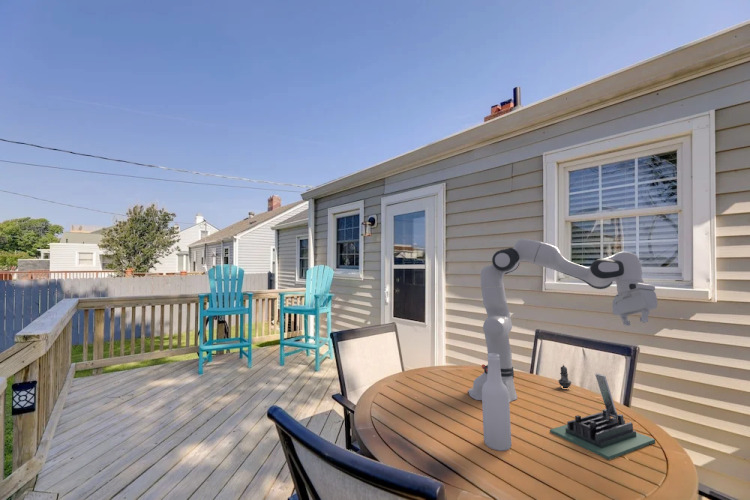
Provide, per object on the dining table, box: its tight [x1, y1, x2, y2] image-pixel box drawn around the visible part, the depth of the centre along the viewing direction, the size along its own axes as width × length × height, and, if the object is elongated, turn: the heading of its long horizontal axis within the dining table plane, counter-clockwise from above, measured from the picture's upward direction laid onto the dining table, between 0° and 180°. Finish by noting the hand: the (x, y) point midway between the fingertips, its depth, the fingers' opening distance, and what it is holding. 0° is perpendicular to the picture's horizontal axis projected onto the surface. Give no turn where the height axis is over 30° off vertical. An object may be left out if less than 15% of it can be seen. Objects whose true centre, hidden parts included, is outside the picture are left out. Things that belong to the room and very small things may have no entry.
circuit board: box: [549, 424, 656, 461], centre depth 111 cm, size 26×20×1 cm
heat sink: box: [565, 408, 637, 448], centre depth 111 cm, size 20×12×6 cm, turn 114°
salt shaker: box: [557, 364, 572, 388], centre depth 162 cm, size 6×6×12 cm
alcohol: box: [481, 353, 512, 452], centre depth 107 cm, size 9×9×30 cm
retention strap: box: [594, 373, 618, 419], centre depth 114 cm, size 17×3×1 cm
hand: (635, 323), depth 123 cm, fingers open, 8 cm apart
